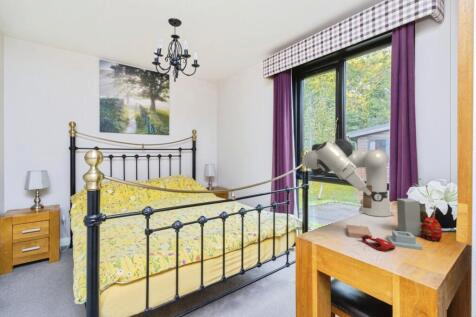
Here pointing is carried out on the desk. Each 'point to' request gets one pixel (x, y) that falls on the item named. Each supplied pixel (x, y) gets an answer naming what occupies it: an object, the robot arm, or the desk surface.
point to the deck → (357, 231)
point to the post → (367, 198)
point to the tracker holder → (382, 242)
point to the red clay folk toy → (431, 228)
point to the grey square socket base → (403, 240)
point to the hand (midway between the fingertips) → (369, 193)
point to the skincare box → (409, 216)
